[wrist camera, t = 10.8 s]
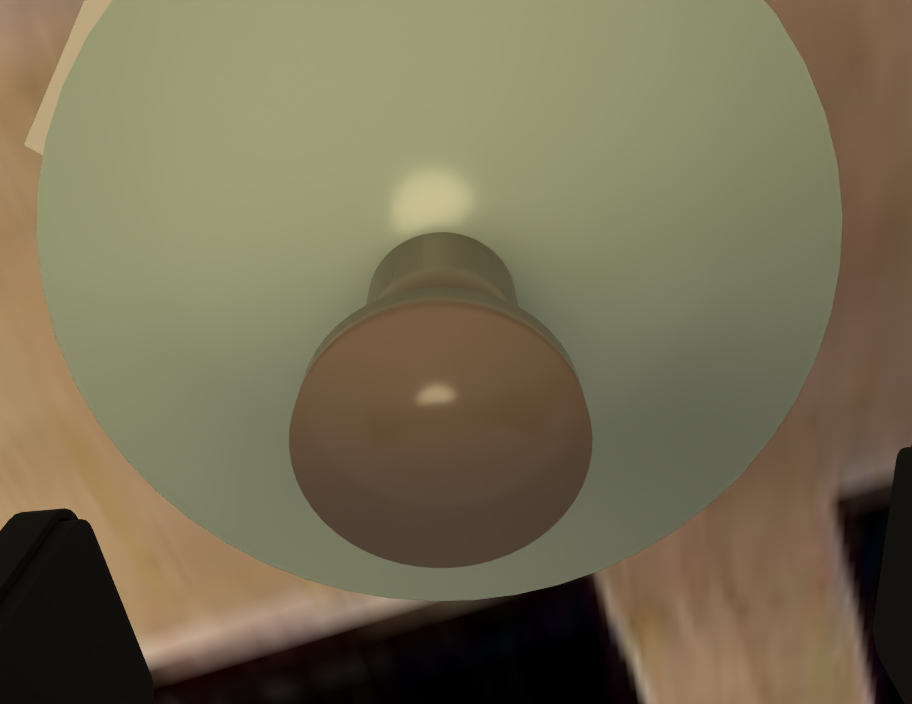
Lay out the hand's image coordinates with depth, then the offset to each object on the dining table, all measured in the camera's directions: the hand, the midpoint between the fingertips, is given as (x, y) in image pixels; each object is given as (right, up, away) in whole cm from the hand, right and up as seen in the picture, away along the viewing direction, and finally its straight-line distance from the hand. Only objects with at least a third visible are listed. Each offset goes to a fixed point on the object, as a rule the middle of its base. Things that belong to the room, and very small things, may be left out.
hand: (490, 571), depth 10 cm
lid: (-1, +4, +8) cm, 9 cm away
